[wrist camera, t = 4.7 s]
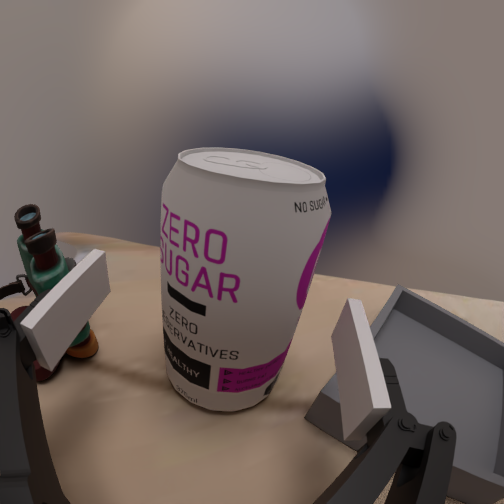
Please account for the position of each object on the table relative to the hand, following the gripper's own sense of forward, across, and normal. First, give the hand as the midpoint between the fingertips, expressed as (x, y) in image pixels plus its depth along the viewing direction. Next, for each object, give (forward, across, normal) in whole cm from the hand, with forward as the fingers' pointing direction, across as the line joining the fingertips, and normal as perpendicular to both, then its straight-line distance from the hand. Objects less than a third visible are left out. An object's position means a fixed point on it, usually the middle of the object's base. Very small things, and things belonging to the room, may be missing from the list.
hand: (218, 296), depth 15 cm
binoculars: (-1, -14, -9) cm, 16 cm away
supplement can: (+2, +1, -9) cm, 9 cm away
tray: (+1, +19, -8) cm, 21 cm away
